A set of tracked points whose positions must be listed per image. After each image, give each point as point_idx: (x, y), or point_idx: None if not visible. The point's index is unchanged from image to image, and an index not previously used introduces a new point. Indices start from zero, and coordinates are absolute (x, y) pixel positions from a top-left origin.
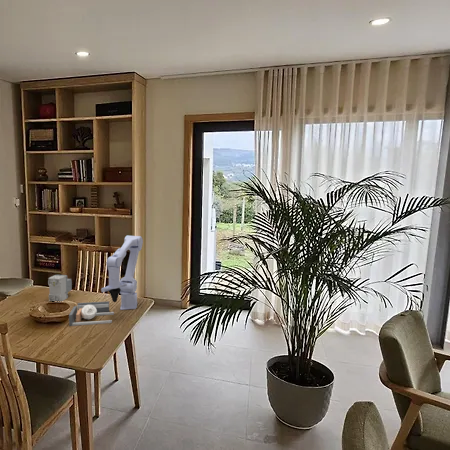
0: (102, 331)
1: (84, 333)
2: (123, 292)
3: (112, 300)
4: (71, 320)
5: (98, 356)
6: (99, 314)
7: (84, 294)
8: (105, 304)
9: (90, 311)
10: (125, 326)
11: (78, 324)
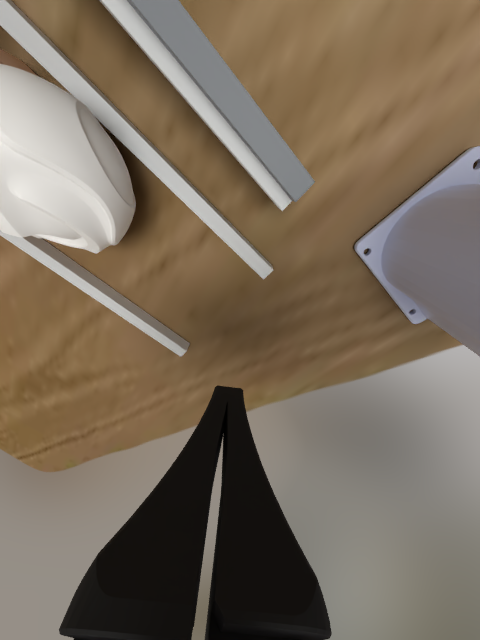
0: (112, 375)
1: (34, 336)
2: None
3: (213, 392)
4: None
5: (55, 453)
6: (183, 200)
7: None
8: (256, 180)
9: (43, 234)
10: None
11: None
